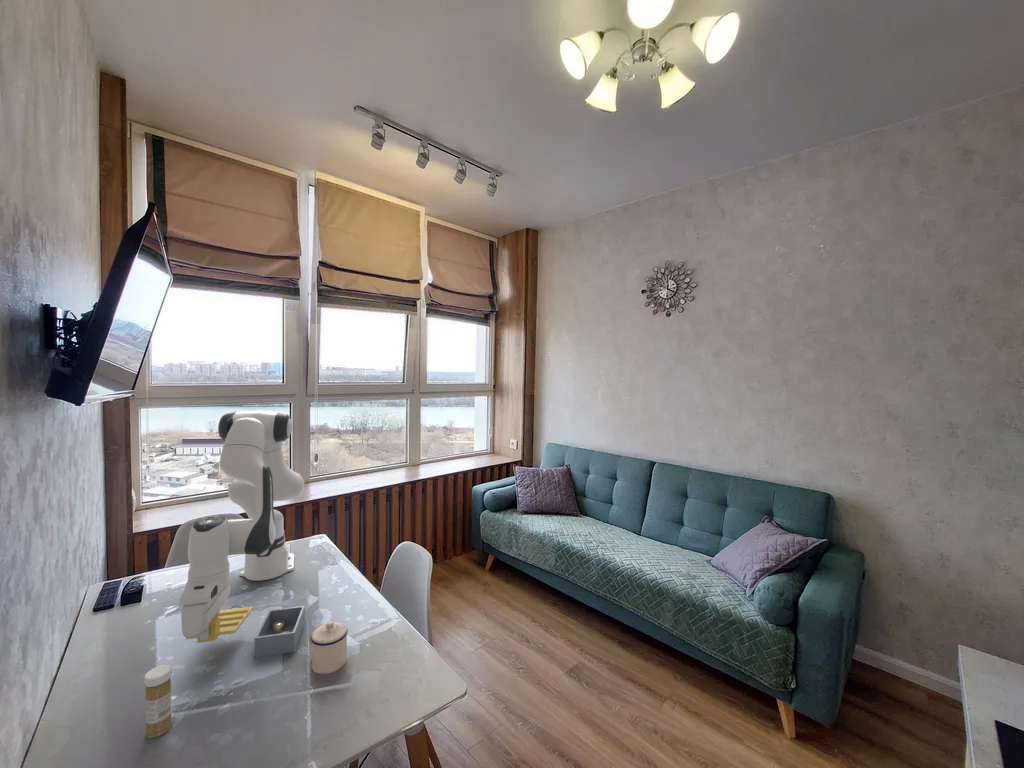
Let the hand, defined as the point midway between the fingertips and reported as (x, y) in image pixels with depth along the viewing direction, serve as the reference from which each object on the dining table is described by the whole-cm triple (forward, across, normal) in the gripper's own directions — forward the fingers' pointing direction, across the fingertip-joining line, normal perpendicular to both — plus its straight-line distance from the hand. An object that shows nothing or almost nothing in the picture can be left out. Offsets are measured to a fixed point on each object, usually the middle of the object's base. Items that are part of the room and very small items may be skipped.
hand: (209, 632), depth 109 cm
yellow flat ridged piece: (+2, -7, 0) cm, 8 cm away
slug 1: (+10, -12, +14) cm, 21 cm away
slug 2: (+10, -6, +16) cm, 20 cm away
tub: (+10, -9, +15) cm, 21 cm away
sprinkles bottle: (+11, +18, -3) cm, 21 cm away
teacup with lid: (+11, +4, +29) cm, 31 cm away
